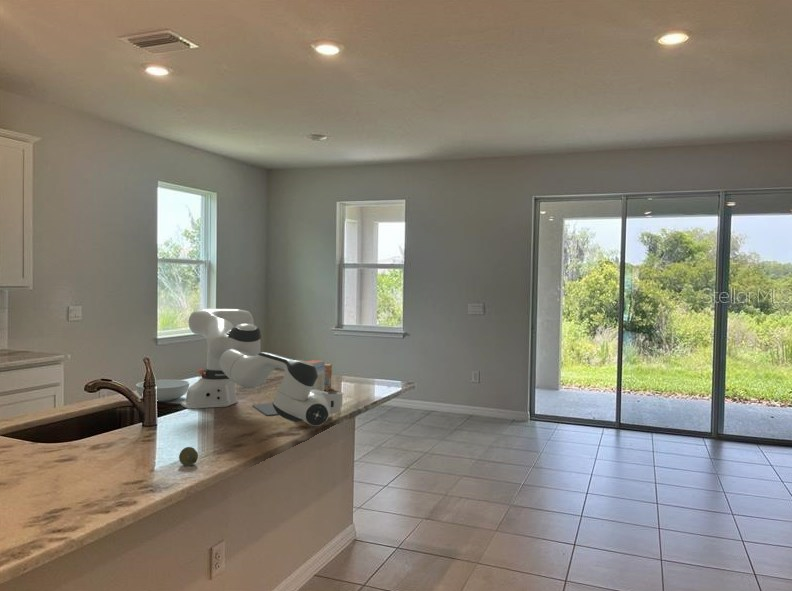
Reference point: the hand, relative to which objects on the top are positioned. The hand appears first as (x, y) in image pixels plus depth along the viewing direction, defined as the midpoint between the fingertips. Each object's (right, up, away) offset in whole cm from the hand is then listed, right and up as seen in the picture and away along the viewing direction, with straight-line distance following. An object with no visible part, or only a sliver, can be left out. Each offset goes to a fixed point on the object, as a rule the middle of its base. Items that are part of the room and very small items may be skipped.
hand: (312, 394), depth 210 cm
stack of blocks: (-12, -9, +70) cm, 71 cm away
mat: (-16, -10, +27) cm, 33 cm away
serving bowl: (-68, -9, +37) cm, 78 cm away
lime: (-29, -13, -44) cm, 54 cm away
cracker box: (-4, -11, +16) cm, 20 cm away
